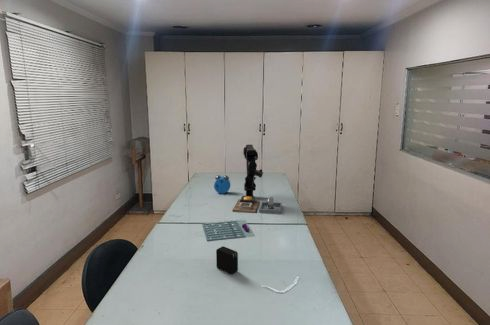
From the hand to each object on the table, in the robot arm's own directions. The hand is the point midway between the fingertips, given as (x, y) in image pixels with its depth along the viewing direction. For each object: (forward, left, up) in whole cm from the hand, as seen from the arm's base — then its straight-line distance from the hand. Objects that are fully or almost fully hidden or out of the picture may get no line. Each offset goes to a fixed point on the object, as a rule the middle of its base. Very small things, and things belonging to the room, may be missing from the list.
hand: (251, 187), depth 243 cm
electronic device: (+93, +2, -14) cm, 94 cm away
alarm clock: (-24, -28, -14) cm, 39 cm away
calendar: (+47, -8, -14) cm, 50 cm away
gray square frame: (+8, +15, -13) cm, 21 cm away
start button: (-2, -3, -11) cm, 12 cm away
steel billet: (+8, +15, -13) cm, 21 cm away
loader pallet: (+5, -3, -13) cm, 14 cm away
